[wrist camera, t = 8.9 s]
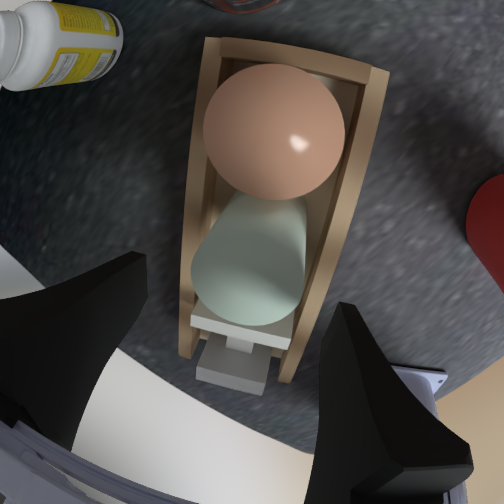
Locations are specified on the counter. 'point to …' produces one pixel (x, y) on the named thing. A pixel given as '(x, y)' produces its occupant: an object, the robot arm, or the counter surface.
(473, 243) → the beer can
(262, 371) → the pusher
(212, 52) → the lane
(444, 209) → the counter surface
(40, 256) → the counter surface
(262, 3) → the supplement bottle
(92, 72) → the supplement bottle
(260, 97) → the pinkish brown rounded cylinder
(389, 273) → the counter surface
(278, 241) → the green jar
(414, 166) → the counter surface
